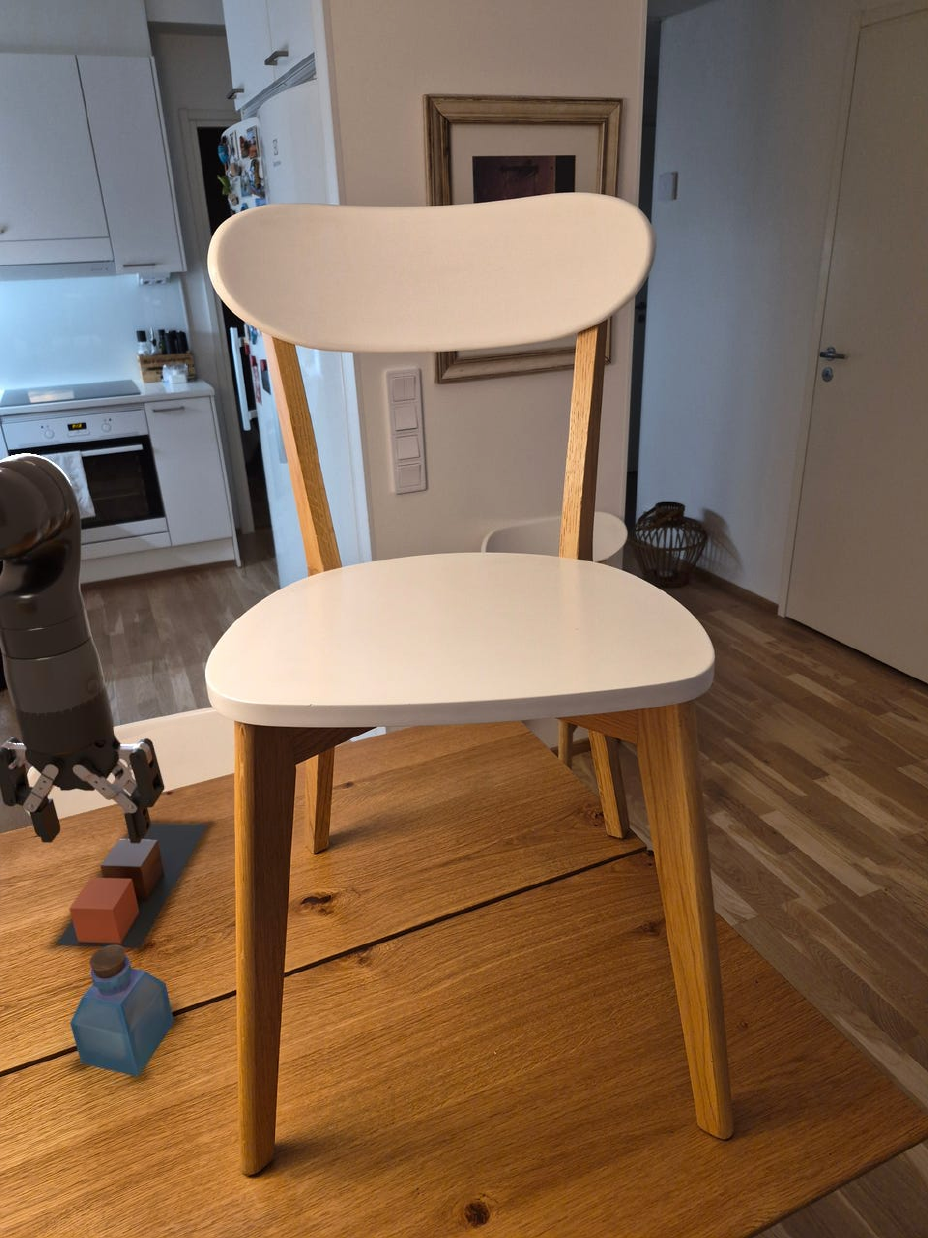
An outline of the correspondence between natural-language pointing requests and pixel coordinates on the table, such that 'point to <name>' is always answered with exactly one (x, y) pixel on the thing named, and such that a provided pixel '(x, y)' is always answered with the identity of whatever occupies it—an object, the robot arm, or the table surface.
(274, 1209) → the table surface
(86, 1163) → the table surface
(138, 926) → the mat
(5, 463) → the robot arm
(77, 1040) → the perfume bottle
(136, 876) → the walnut block
